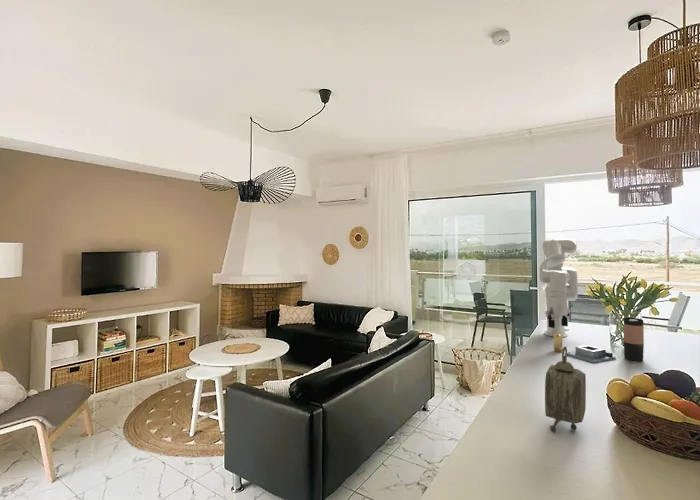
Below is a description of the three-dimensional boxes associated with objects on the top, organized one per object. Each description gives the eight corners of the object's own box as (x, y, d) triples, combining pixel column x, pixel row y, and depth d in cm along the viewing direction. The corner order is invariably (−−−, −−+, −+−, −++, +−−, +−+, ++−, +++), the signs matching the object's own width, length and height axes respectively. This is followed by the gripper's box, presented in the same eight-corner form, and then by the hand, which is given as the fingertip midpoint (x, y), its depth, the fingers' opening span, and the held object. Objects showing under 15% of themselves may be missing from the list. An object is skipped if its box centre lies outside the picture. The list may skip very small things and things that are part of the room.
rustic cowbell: (553, 414, 117) (553, 340, 117) (586, 422, 111) (586, 344, 111) (545, 432, 106) (544, 350, 105) (580, 442, 100) (580, 355, 100)
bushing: (557, 350, 188) (557, 333, 188) (564, 352, 185) (564, 335, 184) (552, 350, 187) (552, 334, 187) (558, 352, 183) (558, 335, 183)
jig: (587, 351, 185) (587, 342, 185) (615, 359, 172) (615, 350, 172) (566, 355, 179) (566, 346, 179) (593, 363, 166) (593, 354, 166)
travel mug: (636, 357, 174) (636, 317, 174) (647, 362, 167) (647, 320, 167) (620, 357, 175) (619, 317, 175) (630, 362, 168) (630, 320, 167)
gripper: (562, 293, 192) (563, 324, 192) (539, 294, 186) (540, 326, 185) (576, 294, 185) (576, 326, 185) (552, 295, 179) (552, 329, 178)
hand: (558, 326), depth 185 cm, fingers open, 9 cm apart
